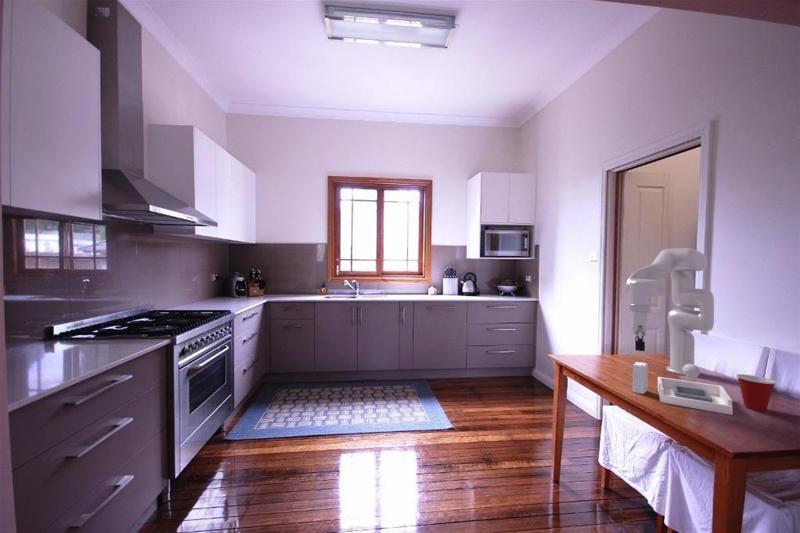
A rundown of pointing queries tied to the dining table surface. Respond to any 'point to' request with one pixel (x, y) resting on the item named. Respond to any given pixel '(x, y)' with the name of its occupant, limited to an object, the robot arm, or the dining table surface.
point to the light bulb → (691, 372)
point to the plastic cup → (755, 391)
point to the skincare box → (640, 377)
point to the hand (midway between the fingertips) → (639, 348)
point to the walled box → (694, 395)
